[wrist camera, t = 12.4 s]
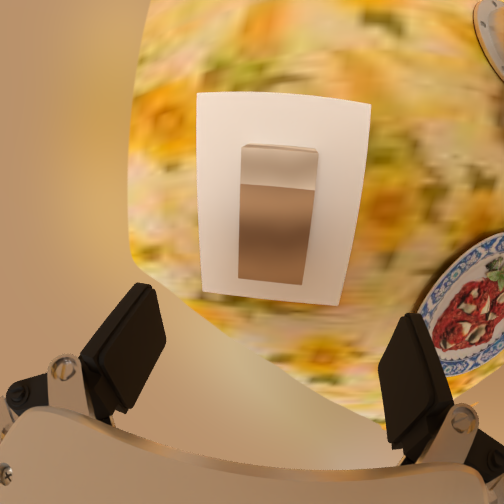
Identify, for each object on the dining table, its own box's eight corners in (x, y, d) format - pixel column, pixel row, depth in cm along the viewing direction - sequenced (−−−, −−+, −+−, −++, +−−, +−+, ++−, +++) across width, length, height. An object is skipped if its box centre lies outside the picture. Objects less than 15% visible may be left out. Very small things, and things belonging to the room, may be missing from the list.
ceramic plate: (477, 371, 35) (482, 382, 32) (372, 359, 36) (376, 374, 33) (553, 255, 23) (563, 264, 20) (464, 194, 23) (477, 203, 21)
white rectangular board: (369, 104, 21) (371, 104, 21) (337, 302, 31) (337, 305, 31) (199, 93, 23) (196, 93, 23) (204, 288, 33) (202, 291, 33)
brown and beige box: (301, 264, 29) (301, 285, 26) (245, 258, 30) (238, 278, 26) (314, 148, 24) (318, 153, 20) (249, 142, 24) (241, 147, 21)
